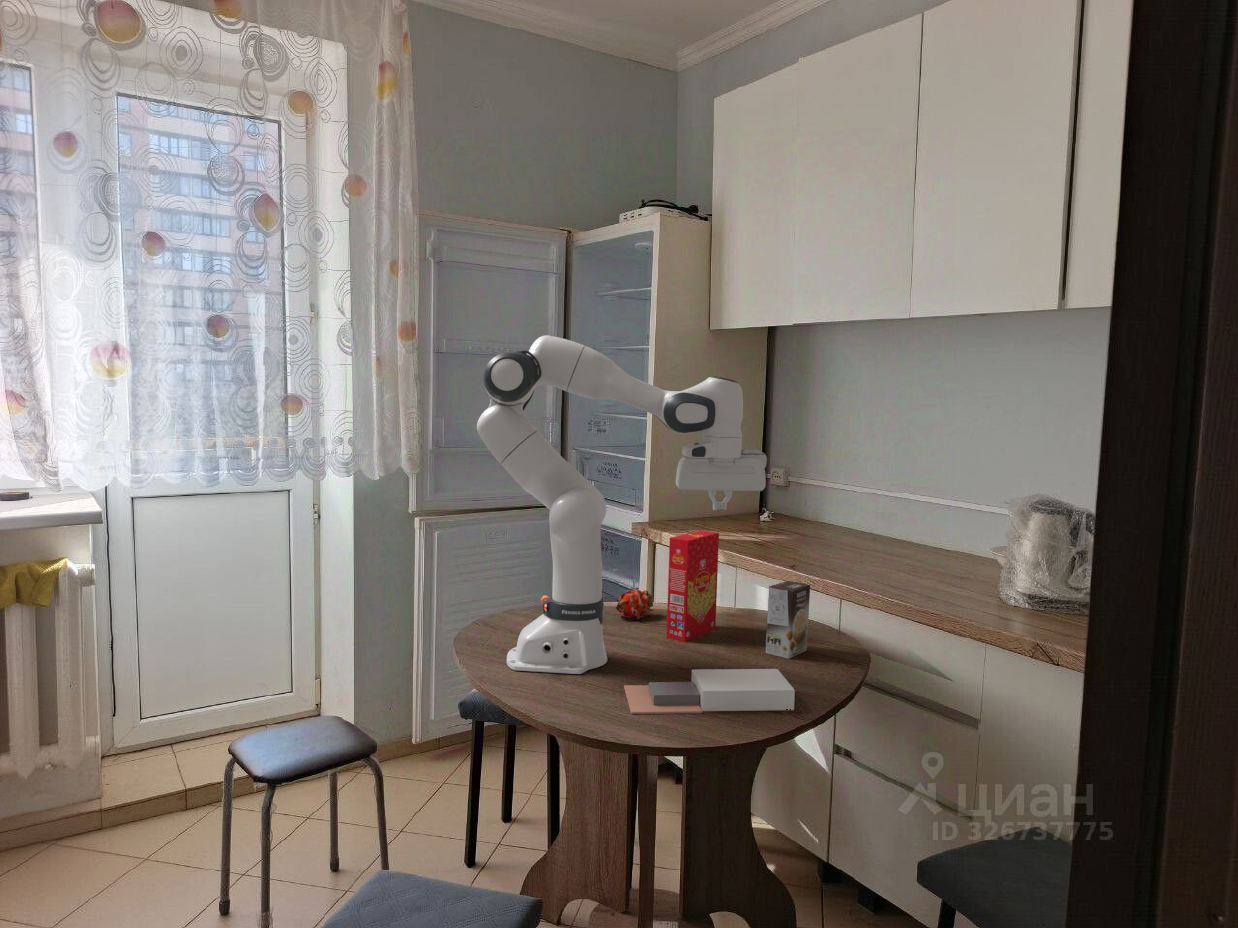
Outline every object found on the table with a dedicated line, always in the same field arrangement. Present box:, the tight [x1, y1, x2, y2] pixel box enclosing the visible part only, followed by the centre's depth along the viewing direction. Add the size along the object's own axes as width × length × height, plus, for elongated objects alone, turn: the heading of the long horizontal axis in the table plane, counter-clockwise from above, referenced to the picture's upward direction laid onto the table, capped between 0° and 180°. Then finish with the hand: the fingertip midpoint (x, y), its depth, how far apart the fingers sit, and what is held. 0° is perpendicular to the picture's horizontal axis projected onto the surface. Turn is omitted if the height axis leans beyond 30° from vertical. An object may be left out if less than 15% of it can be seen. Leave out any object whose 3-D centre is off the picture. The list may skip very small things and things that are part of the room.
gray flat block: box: [648, 681, 700, 705], centre depth 165 cm, size 9×7×2 cm
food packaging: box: [666, 530, 720, 643], centre depth 209 cm, size 15×5×25 cm, turn 143°
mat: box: [623, 684, 703, 715], centre depth 165 cm, size 14×14×1 cm
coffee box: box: [765, 580, 811, 660], centre depth 196 cm, size 9×6×16 cm
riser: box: [690, 668, 796, 712], centre depth 167 cm, size 18×12×4 cm, turn 95°
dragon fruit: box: [615, 587, 654, 620], centre depth 223 cm, size 8×8×12 cm
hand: (719, 510), depth 189 cm, fingers closed
